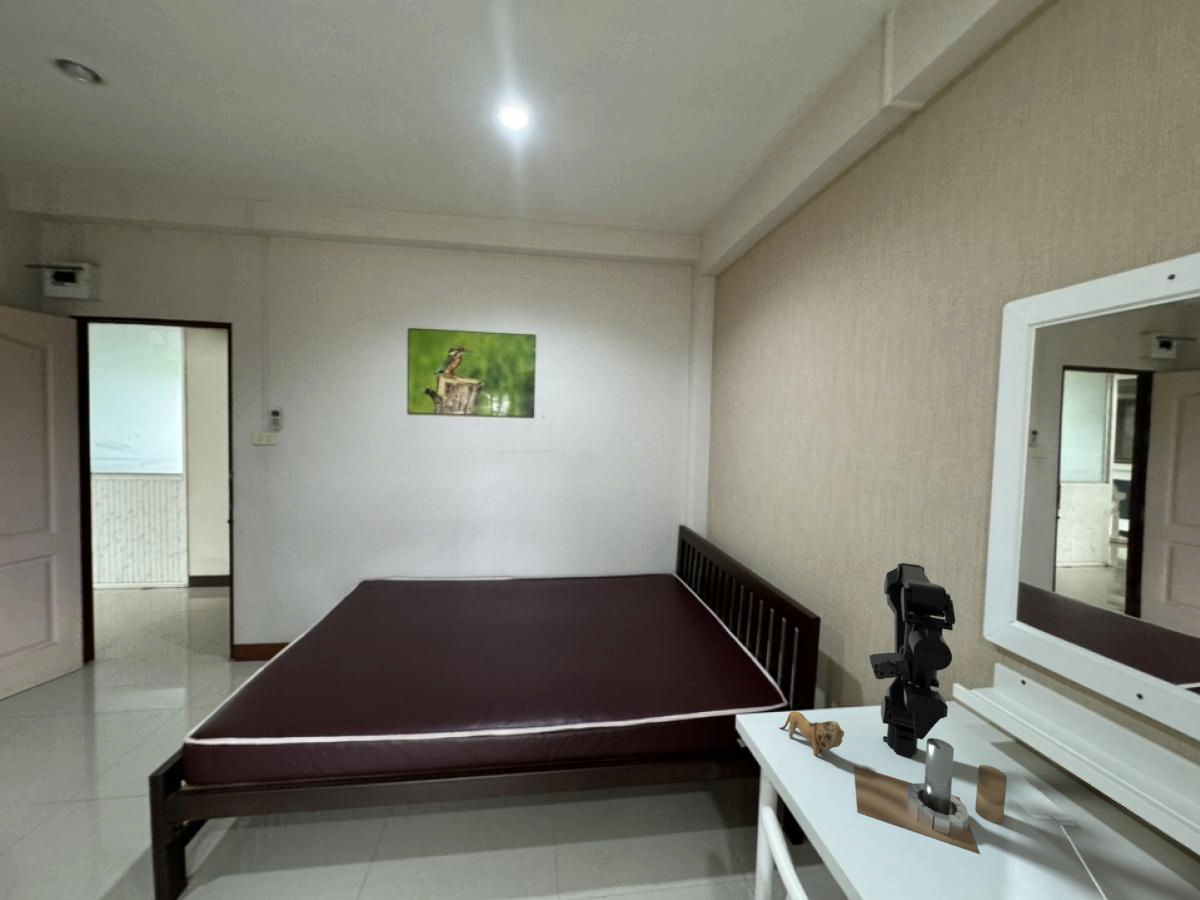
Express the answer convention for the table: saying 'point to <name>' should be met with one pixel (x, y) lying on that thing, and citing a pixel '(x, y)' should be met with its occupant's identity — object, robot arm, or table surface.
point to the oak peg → (991, 794)
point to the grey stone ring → (934, 820)
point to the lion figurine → (815, 732)
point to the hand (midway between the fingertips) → (915, 725)
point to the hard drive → (1034, 800)
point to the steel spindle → (938, 775)
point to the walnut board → (898, 806)
